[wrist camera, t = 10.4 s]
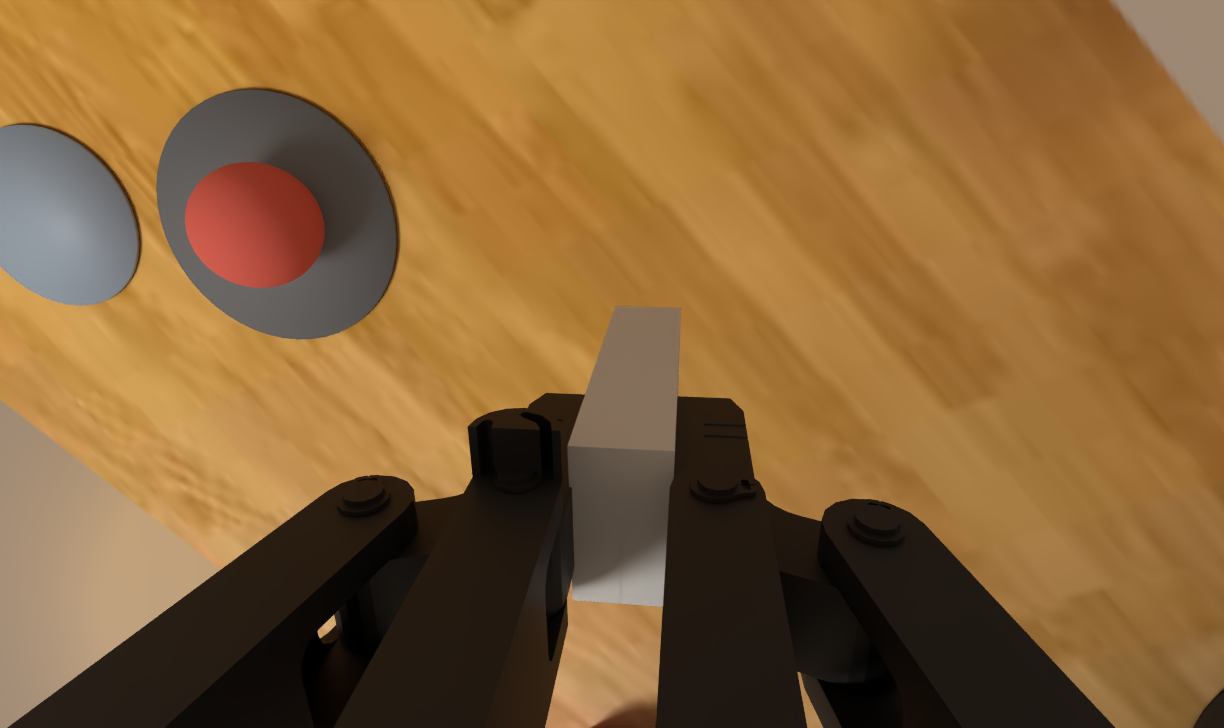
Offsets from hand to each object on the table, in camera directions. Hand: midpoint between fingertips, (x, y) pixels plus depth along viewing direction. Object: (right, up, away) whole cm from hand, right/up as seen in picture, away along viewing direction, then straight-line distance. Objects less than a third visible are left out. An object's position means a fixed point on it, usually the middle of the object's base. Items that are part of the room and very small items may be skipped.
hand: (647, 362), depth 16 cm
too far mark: (-29, +7, +18) cm, 35 cm away
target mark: (-17, +7, +17) cm, 25 cm away
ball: (-17, +6, +14) cm, 23 cm away
